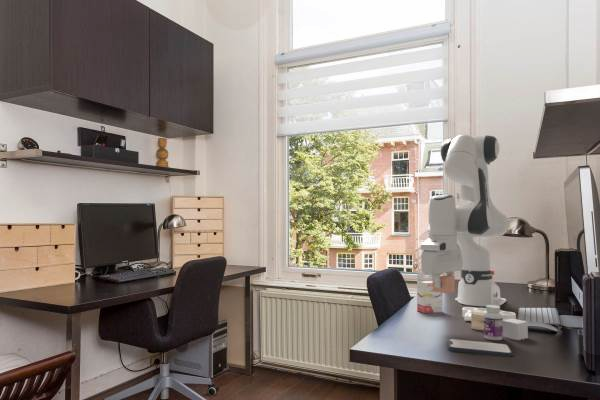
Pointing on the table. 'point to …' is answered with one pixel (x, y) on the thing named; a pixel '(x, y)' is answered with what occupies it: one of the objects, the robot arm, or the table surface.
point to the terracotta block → (445, 284)
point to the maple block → (477, 320)
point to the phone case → (479, 347)
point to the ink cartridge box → (427, 295)
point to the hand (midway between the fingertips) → (443, 286)
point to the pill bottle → (493, 323)
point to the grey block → (515, 329)
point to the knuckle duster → (469, 310)
